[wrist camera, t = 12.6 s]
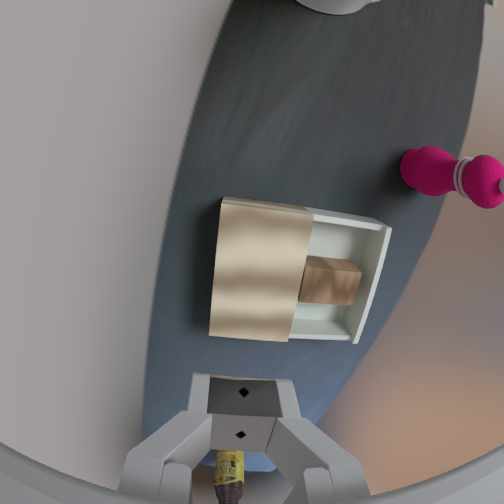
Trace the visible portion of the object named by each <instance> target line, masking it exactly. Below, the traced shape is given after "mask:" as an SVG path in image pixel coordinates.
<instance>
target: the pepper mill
mask: <svg viewBox="0 0 504 504" xmlns="http://www.w3.org/2000/svg"><path fill="white" fill-rule="evenodd" d="M400 171H401V175H402V178H403V180H404V181H405V183H406V184H407V185H408V186H410V187H412V188H415V189H418V190H419V191H420V192H421V193H423V194H425V195H429V196H440V195H443V194H446V193H448V192H449V191H452V190H453V191H457V192H458V193H459V195H460V196H462V197H464V198H468V199H471V200H472V202H473V203H475V204H476V205H477V206H479V207H482V208H487V209H489V208H494V207H496V206H498V205H500V204H501V203H502V202H503V200H504V167H503V165H502V164H501V163H500V162H499V161H498V160H497V159H495V158H493V157H491V156H487V155H480V156H477V157H475V158H469V157H464V158H462V159H460V160H456V159H454V158H453V157H452V156H451V155H450V154H448V153H447V152H446V151H444V150H442V149H440V148H438V147H434V146H424V147H422V148H420V149H417V148H415V149H410V150H408V151H407V152H406V153H405V154H404V155H403V158H402V160H401V164H400Z"/></svg>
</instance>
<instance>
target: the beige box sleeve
mask: <svg viewBox="0 0 504 504" xmlns="http://www.w3.org/2000/svg"><path fill="white" fill-rule="evenodd" d="M313 220H314V215H313V214H312V213H311V212H309V211H308V210H307V209H306V208H305V207H302V206H295V205H288V204H281V203H274V202H266V201H258V200H250V199H242V198H234V197H225V196H224V197H223V200H222V203H221V211H220V220H219V230H218V239H217V249H216V259H215V270H214V280H213V292H212V303H211V315H210V328H209V335H210V336H220V337H230V338H241V339H252V340H266V341H281V342H288V338H289V334H290V330H291V326H292V321H293V317H294V313H295V308H296V304H297V299H298V295H299V290H300V286H301V281H302V276H303V271H304V267H305V262H306V257H307V252H308V247H309V241H310V236H311V231H312V226H313Z"/></svg>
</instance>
